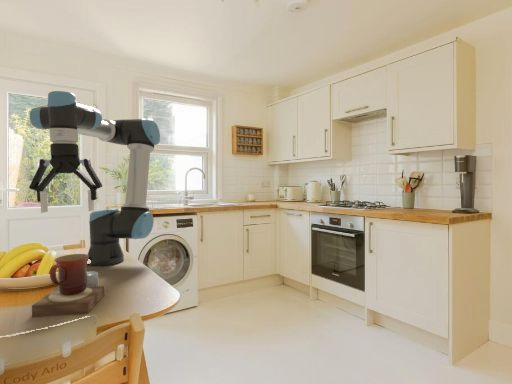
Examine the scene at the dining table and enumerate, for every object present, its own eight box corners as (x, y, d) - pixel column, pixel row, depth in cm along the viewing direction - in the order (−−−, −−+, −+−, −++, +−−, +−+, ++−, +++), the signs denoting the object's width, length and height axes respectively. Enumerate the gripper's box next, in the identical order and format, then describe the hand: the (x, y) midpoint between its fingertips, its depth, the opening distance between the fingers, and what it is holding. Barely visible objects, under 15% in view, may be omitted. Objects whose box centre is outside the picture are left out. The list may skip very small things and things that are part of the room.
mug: (71, 286, 101) (70, 253, 101) (96, 287, 99) (95, 254, 99) (38, 300, 89) (37, 263, 89) (66, 302, 88) (65, 264, 87)
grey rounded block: (80, 283, 115) (80, 271, 115) (101, 282, 116) (101, 271, 116) (72, 289, 108) (71, 277, 108) (94, 288, 109) (94, 276, 109)
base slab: (56, 297, 101) (56, 286, 100) (104, 295, 102) (104, 284, 102) (32, 316, 87) (31, 304, 87) (87, 313, 89) (87, 301, 88)
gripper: (12, 142, 95) (17, 214, 97) (103, 142, 99) (106, 211, 101) (26, 144, 103) (30, 211, 104) (110, 144, 107) (113, 208, 108)
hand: (68, 211), depth 103 cm, fingers open, 13 cm apart
